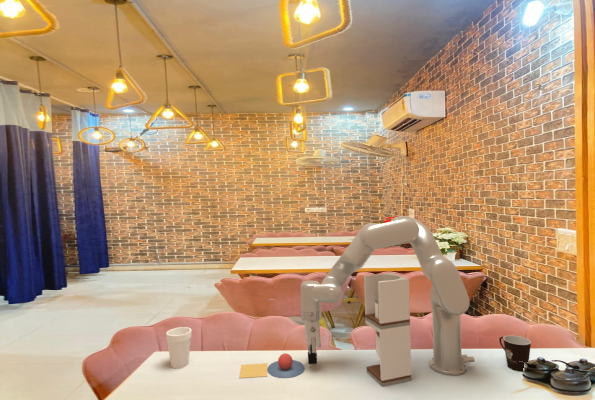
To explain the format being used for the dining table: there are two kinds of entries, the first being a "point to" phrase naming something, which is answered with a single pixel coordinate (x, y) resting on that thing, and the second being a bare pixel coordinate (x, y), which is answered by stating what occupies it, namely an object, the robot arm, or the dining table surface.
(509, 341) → the coffee mug
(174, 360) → the foam cup
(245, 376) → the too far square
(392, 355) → the display case
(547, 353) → the dining table surface
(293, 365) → the disc
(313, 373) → the dining table surface
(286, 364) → the ball
